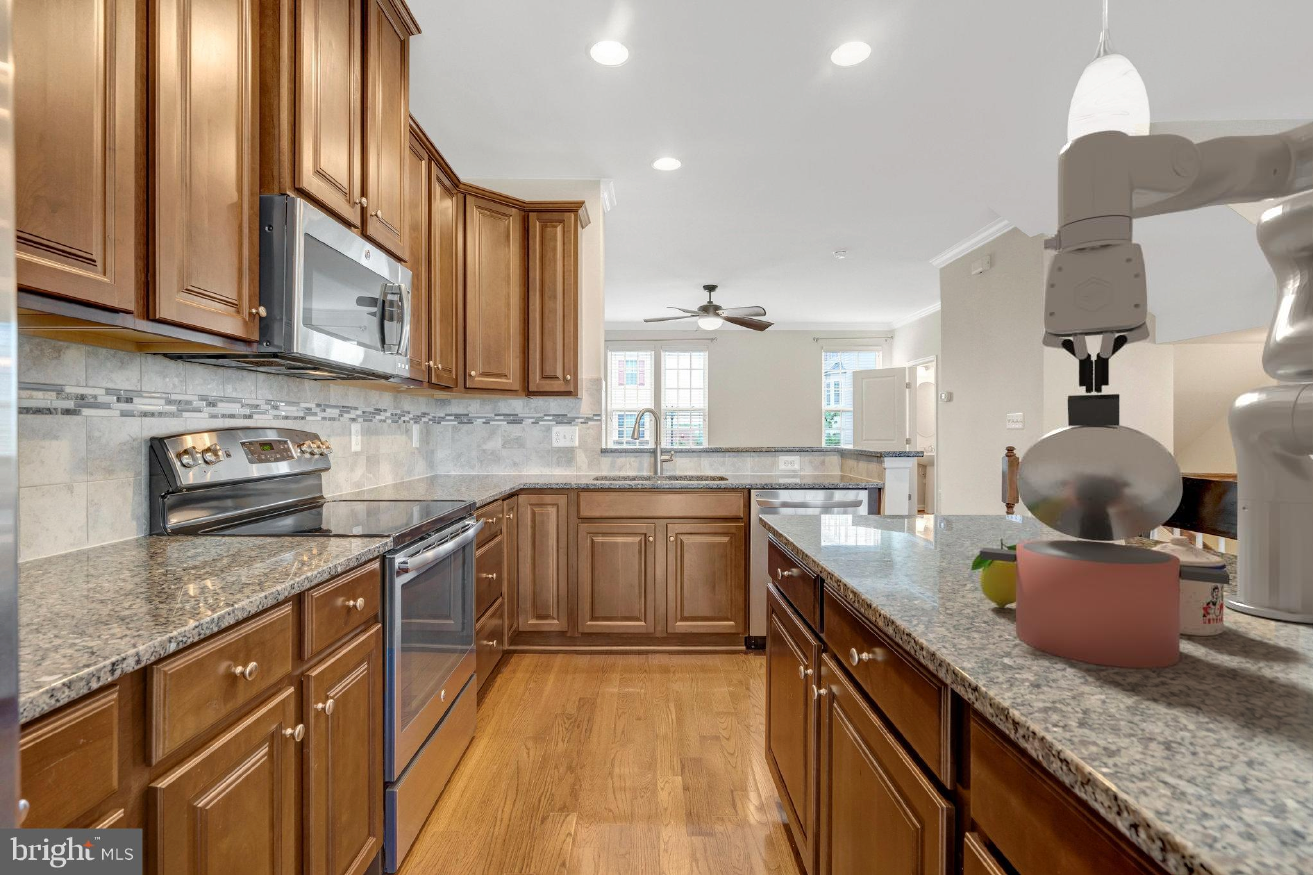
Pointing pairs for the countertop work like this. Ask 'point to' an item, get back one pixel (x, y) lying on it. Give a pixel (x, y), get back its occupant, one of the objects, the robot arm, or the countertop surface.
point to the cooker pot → (1100, 600)
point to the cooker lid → (1099, 475)
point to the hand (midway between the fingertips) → (1093, 392)
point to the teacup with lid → (1197, 590)
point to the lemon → (998, 579)
